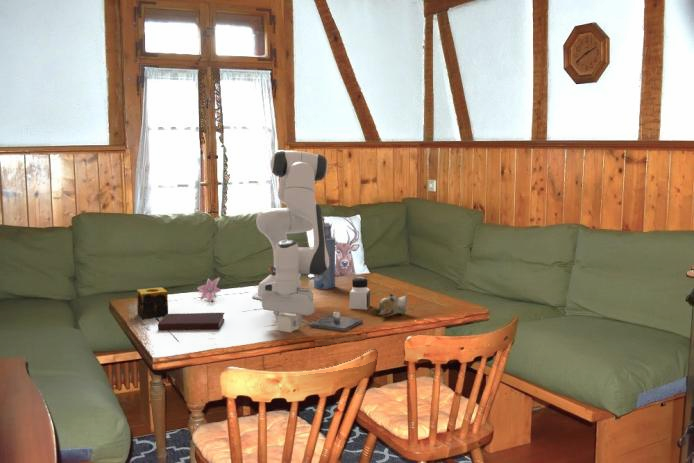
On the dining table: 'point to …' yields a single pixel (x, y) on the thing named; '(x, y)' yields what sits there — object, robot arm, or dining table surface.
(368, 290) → the medicine bottle
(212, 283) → the lily
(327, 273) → the grey elongated piece
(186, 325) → the book
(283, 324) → the cream rectangular prism
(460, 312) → the dining table surface
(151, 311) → the yellow holed cube
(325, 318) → the post plate
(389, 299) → the ceramic sculpture
